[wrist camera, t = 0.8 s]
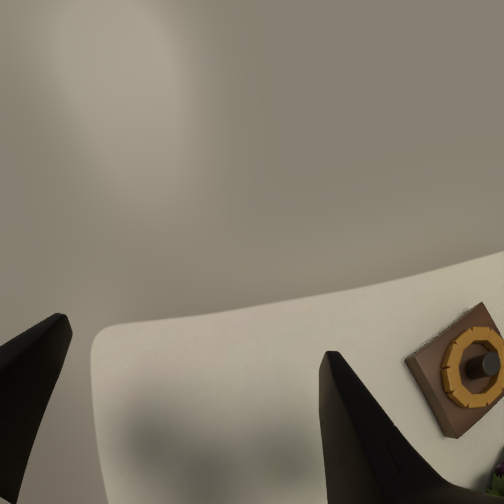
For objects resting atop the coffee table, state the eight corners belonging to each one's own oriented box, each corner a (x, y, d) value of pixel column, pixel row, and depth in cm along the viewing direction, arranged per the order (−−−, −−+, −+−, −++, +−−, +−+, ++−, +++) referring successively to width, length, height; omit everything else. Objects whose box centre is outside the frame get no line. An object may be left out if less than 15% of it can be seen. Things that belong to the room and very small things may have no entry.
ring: (512, 374, 19) (520, 372, 18) (461, 424, 19) (467, 425, 18) (481, 314, 22) (488, 311, 21) (427, 360, 22) (433, 358, 21)
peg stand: (507, 379, 21) (540, 371, 16) (445, 437, 20) (474, 442, 16) (470, 308, 25) (498, 290, 20) (404, 360, 24) (427, 350, 20)
